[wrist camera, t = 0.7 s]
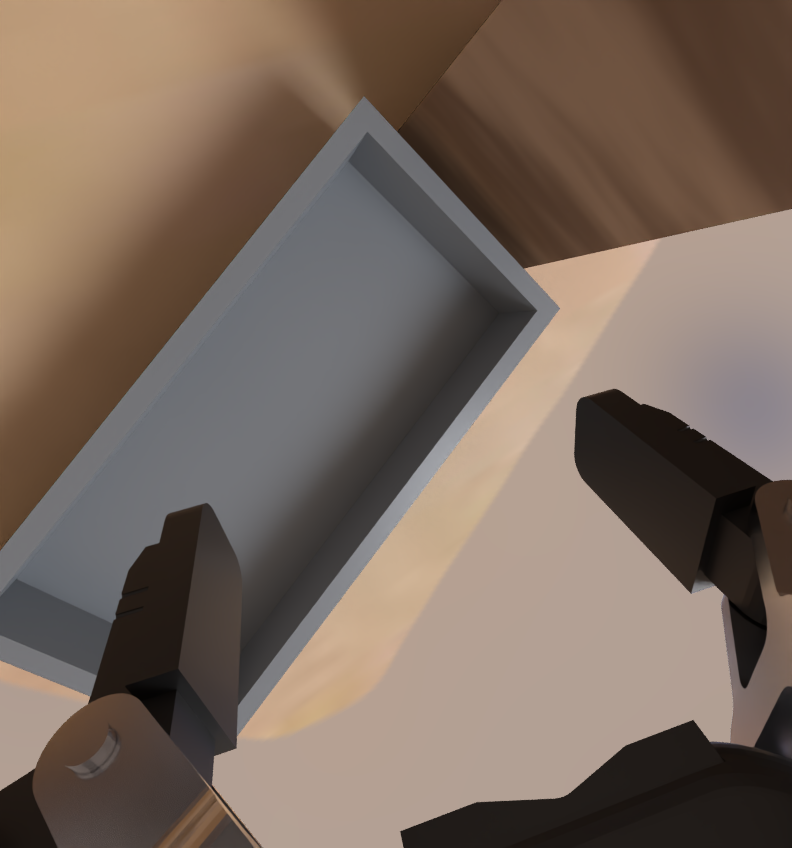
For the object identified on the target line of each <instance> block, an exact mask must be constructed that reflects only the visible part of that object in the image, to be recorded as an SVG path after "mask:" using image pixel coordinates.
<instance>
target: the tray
mask: <svg viewBox="0 0 792 848" xmlns="http://www.w3.org/2000/svg"><path fill="white" fill-rule="evenodd" d="M559 309H560V308H559V307H558V305H557V304H556V303H555V302H554V301H553V300H552V299H551V298H550V297H549V296H548V295H547V294H546V292H545V291H544V290H543V289H542V288H541V287H540V286H539V285H538V284H537V283H536V282H535V281H534V280H533V278H532V277H531V276H530V275H529V274H528V273H527V272H526V271H525V270H524V269H523V268H522V267H521V265H520V264H519V263H518V262H517V261H516V260H515V259H514V258H513V257H512V256H511V255H510V254H509V252H508V251H507V250H506V249H505V248H504V247H503V246H502V245H501V244H500V243H499V242H498V241H497V239H496V238H495V237H494V236H493V235H492V234H491V233H490V232H489V231H488V230H487V229H486V228H485V226H484V225H483V224H482V223H481V222H480V221H479V220H478V219H477V218H476V217H475V216H474V215H473V213H472V212H471V211H470V210H469V209H468V208H467V207H466V206H465V205H464V204H463V203H462V202H461V200H460V199H459V198H458V197H457V196H456V195H455V194H454V193H453V192H452V191H451V190H450V189H449V187H448V186H447V185H446V184H445V183H444V182H443V181H442V180H441V179H440V178H439V177H438V176H437V174H436V173H435V172H434V171H433V170H432V169H431V168H430V167H429V166H428V165H427V164H426V163H425V161H424V160H423V159H422V158H421V157H420V156H419V155H418V154H417V153H416V152H415V151H414V150H413V148H412V147H411V146H410V145H409V144H408V143H407V142H406V141H405V140H404V139H403V138H402V137H401V136H400V134H399V133H398V132H397V131H396V130H395V129H394V128H393V127H392V126H391V125H390V124H389V123H388V121H387V120H386V119H385V118H384V117H383V116H382V115H381V114H380V113H379V112H378V111H377V110H376V108H375V107H374V106H373V105H372V104H371V103H370V102H369V101H368V100H367V99H366V98H365V97H363V98H362V99H361V100H360V102H359V103H358V104H357V105H356V107H355V108H354V109H353V110H352V112H351V113H350V114H349V115H348V117H347V118H346V119H345V120H344V122H343V123H342V124H341V125H340V127H339V128H338V129H337V130H336V132H335V133H334V134H333V135H332V137H331V138H330V139H329V140H328V142H327V143H326V144H325V145H324V147H323V148H322V149H321V150H320V152H319V153H318V154H317V155H316V157H315V158H314V159H313V160H312V162H311V163H310V164H309V165H308V167H307V168H306V169H305V170H304V172H303V173H302V174H301V175H300V177H299V178H298V179H297V180H296V182H295V183H294V184H293V185H292V187H291V188H290V189H289V190H288V192H287V193H286V194H285V195H284V197H283V198H282V199H281V200H280V202H279V203H278V204H277V205H276V207H275V208H274V209H273V210H272V212H271V213H270V214H269V215H268V217H267V218H266V219H265V220H264V222H263V223H262V224H261V225H260V227H259V228H258V229H257V230H256V232H255V233H254V234H253V235H252V237H251V238H250V239H249V240H248V242H247V243H246V244H245V245H244V247H243V248H242V249H241V250H240V252H239V253H238V254H237V255H236V257H235V258H234V259H233V260H232V262H231V263H230V264H229V265H228V267H227V268H226V269H225V270H224V272H223V273H222V274H221V275H220V277H219V278H218V279H217V280H216V282H215V283H214V284H213V285H212V287H211V288H210V289H209V290H208V292H207V293H206V294H205V295H204V297H203V298H202V299H201V301H200V302H199V303H198V304H197V306H196V307H195V308H194V309H193V311H192V312H191V313H190V314H189V316H188V317H187V318H186V319H185V321H184V322H183V323H182V324H181V326H180V327H179V328H178V329H177V331H176V332H175V333H174V334H173V336H172V337H171V338H170V339H169V341H168V342H167V343H166V344H165V346H164V347H163V348H162V349H161V351H160V352H159V353H158V354H157V356H156V357H155V358H154V359H153V361H152V362H151V363H150V364H149V366H148V367H147V368H146V369H145V371H144V372H143V373H142V374H141V376H140V377H139V378H138V379H137V381H136V382H135V383H134V384H133V386H132V387H131V388H130V389H129V391H128V392H127V393H126V394H125V396H124V397H123V398H122V399H121V401H120V402H119V403H118V404H117V406H116V407H115V408H114V409H113V411H112V412H111V413H110V414H109V416H108V417H107V418H106V419H105V421H104V422H103V423H102V424H101V426H100V427H99V428H98V429H97V431H96V432H95V433H94V434H93V436H92V437H91V438H90V439H89V441H88V442H87V443H86V444H85V446H84V447H83V448H82V449H81V451H80V452H79V453H78V454H77V456H76V457H75V458H74V459H73V461H72V462H71V463H70V464H69V466H68V467H67V468H66V469H65V471H64V472H63V473H62V474H61V476H60V477H59V478H58V479H57V481H56V482H55V483H54V484H53V486H52V487H51V488H50V489H49V491H48V492H47V493H46V494H45V496H44V497H43V498H42V499H41V501H40V502H39V503H38V504H37V506H36V507H35V508H34V509H33V511H32V512H31V513H30V514H29V516H28V517H27V518H26V519H25V521H24V522H23V523H22V524H21V526H20V527H19V528H18V529H17V531H16V532H15V533H14V534H13V536H12V537H11V538H10V539H9V541H8V542H7V543H6V544H5V546H4V547H3V548H2V549H1V551H0V660H1V661H3V662H6V663H8V664H11V665H13V666H16V667H18V668H21V669H23V670H26V671H28V672H31V673H33V674H36V675H38V676H41V677H43V678H46V679H48V680H51V681H53V682H56V683H58V684H61V685H63V686H66V687H68V688H71V689H73V690H75V691H78V692H80V693H83V694H85V695H88V696H90V697H91V693H92V690H93V687H94V683H95V680H96V677H97V673H98V670H99V667H100V663H101V660H102V657H103V653H104V650H105V647H106V643H107V640H108V637H109V633H110V630H111V627H112V623H113V620H115V619H116V615H115V613H116V610H117V607H118V603H119V600H120V599H122V595H121V593H122V590H123V587H124V583H125V580H126V577H127V573H128V570H129V569H130V568H131V566H132V565H133V563H134V562H135V561H136V559H137V558H138V557H139V555H140V554H141V552H142V551H143V550H144V548H145V547H147V546H150V545H154V544H157V543H159V542H160V538H161V534H162V529H163V525H164V521H165V518H166V516H167V514H169V513H172V512H176V511H179V510H183V509H186V508H190V507H193V506H197V505H200V504H204V503H208V504H209V505H210V506H211V507H212V508H213V510H214V512H215V514H216V516H217V518H218V520H219V522H220V524H221V526H222V528H223V530H224V532H225V534H226V536H227V538H228V540H229V542H230V544H231V546H232V548H233V550H234V552H235V554H236V556H237V559H238V562H239V566H240V570H241V576H242V604H241V632H240V660H239V689H238V717H237V736H238V734H239V733H240V732H241V730H242V729H243V728H244V726H245V725H246V724H247V722H248V721H249V720H250V718H251V717H252V716H253V715H254V713H255V712H256V711H257V709H258V708H259V707H260V705H261V704H262V703H263V701H264V700H265V699H266V697H267V696H268V695H269V693H270V692H271V691H272V689H273V688H274V687H275V685H276V684H277V683H278V681H279V680H280V679H281V677H282V676H283V675H284V673H285V672H286V671H287V669H288V668H289V667H290V665H291V664H292V663H293V662H294V660H295V659H296V658H297V656H298V655H299V654H300V652H301V651H302V650H303V648H304V647H305V646H306V644H307V643H308V642H309V640H310V639H311V638H312V636H313V635H314V634H315V632H316V631H317V630H318V628H319V627H320V626H321V624H322V623H323V622H324V620H325V619H326V618H327V616H328V615H329V614H330V613H331V611H332V610H333V609H334V607H335V606H336V605H337V603H338V602H339V601H340V599H341V598H342V597H343V595H344V594H345V593H346V591H347V590H348V589H349V587H350V586H351V585H352V583H353V582H354V581H355V579H356V578H357V577H358V575H359V574H360V573H361V571H362V570H363V569H364V567H365V566H366V565H367V563H368V562H369V561H370V560H371V558H372V557H373V556H374V554H375V553H376V552H377V550H378V549H379V548H380V546H381V545H382V544H383V542H384V541H385V540H386V538H387V537H388V536H389V534H390V533H391V532H392V530H393V529H394V528H395V526H396V525H397V524H398V522H399V521H400V520H401V518H402V517H403V516H404V514H405V513H406V512H407V510H408V509H409V508H410V507H411V505H412V504H413V503H414V501H415V500H416V499H417V497H418V496H419V495H420V493H421V492H422V491H423V489H424V488H425V487H426V485H427V484H428V483H429V481H430V480H431V479H432V477H433V476H434V475H435V473H436V472H437V471H438V469H439V468H440V467H441V465H442V464H443V463H444V461H445V460H446V459H447V457H448V456H449V455H450V454H451V452H452V451H453V450H454V448H455V447H456V446H457V444H458V443H459V442H460V440H461V439H462V438H463V436H464V435H465V434H466V432H467V431H468V430H469V428H470V427H471V426H472V424H473V423H474V422H475V420H476V419H477V418H478V416H479V415H480V414H481V412H482V411H483V410H484V408H485V407H486V406H487V404H488V403H489V402H490V401H491V399H492V398H493V397H494V395H495V394H496V393H497V391H498V390H499V389H500V387H501V386H502V385H503V383H504V382H505V381H506V379H507V378H508V377H509V375H510V374H511V373H512V371H513V370H514V369H515V367H516V366H517V365H518V363H519V362H520V361H521V359H522V358H523V357H524V355H525V354H526V353H527V352H528V350H529V349H530V348H531V346H532V345H533V344H534V342H535V341H536V340H537V338H538V337H539V336H540V334H541V333H542V332H543V330H544V329H545V328H546V326H547V325H548V324H549V322H550V321H551V320H552V318H553V317H554V316H555V314H556V313H557V312H558V310H559Z"/></svg>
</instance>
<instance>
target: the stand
mask: <svg viewBox="0 0 792 848" xmlns="http://www.w3.org/2000/svg"><path fill="white" fill-rule="evenodd" d="M398 133H399V134H400V136H401V137H402V138H403V139H404V140H405V141H406V142H407V143H408V144H409V145H410V146H411V147H412V148H413V150H414V151H415V152H416V153H417V154H418V155H419V156H420V157H421V158H422V159H423V160H424V161H425V163H426V164H427V165H428V166H429V167H430V168H431V169H432V170H433V171H434V172H435V173H436V174H437V176H438V177H439V178H440V179H441V180H442V181H443V182H444V183H445V184H446V185H447V186H448V187H449V189H450V190H451V191H452V192H453V193H454V194H455V195H456V196H457V197H458V198H459V199H460V200H461V202H462V203H463V204H464V205H465V206H466V207H467V208H468V209H469V210H470V211H471V212H472V213H473V215H474V216H475V217H476V218H477V219H478V220H479V221H480V222H481V223H482V224H483V225H484V226H485V228H486V229H487V230H488V231H489V232H490V233H491V234H492V235H493V236H494V237H495V238H496V239H497V241H498V242H499V243H500V244H501V245H502V246H503V247H504V248H505V249H506V250H507V251H508V252H509V254H510V255H511V256H512V257H513V258H514V259H515V260H516V261H517V262H518V263H519V264H520V265H521V267H522V268H523V269H524V268H528V267H533V266H537V265H542V264H546V263H550V262H555V261H559V260H564V259H568V258H573V257H577V256H582V255H586V254H591V253H595V252H600V251H604V250H609V249H613V248H618V247H622V246H627V245H631V244H636V243H640V242H645V241H649V240H654V239H658V238H663V237H667V236H672V235H676V234H681V233H685V232H689V231H694V230H699V229H703V228H708V227H712V226H717V225H721V224H726V223H730V222H735V221H739V220H744V219H748V218H753V217H757V216H762V215H766V214H771V213H775V212H780V211H784V210H789V209H792V0H502V1H501V2H500V3H499V4H498V6H497V7H496V8H495V9H494V11H493V12H492V13H491V15H490V16H489V17H488V18H487V20H486V21H485V22H484V23H483V25H482V26H481V27H480V28H479V30H478V31H477V32H476V33H475V35H474V36H473V37H472V39H471V40H470V41H469V42H468V44H467V45H466V46H465V47H464V49H463V50H462V51H461V52H460V54H459V55H458V56H457V57H456V59H455V60H454V61H453V63H452V64H451V65H450V66H449V68H448V69H447V70H446V71H445V73H444V74H443V75H442V76H441V78H440V79H439V80H438V81H437V83H436V84H435V85H434V86H433V88H432V89H431V90H430V92H429V93H428V94H427V95H426V97H425V98H424V99H423V100H422V102H421V103H420V104H419V105H418V107H417V108H416V109H415V110H414V112H413V113H412V114H411V116H410V117H409V118H408V119H407V121H406V122H405V123H404V124H403V126H402V127H401V128H400V129H399V131H398Z"/></svg>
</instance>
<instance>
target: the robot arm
mask: <svg viewBox="0 0 792 848" xmlns="http://www.w3.org/2000/svg"><path fill="white" fill-rule="evenodd" d="M574 455H575V456H574V457H575V463H576V466H577V469H578V471H579V474H580V475H581V477H582V479H583V480H584V481H585V482H586V483H587V485H588V486H589V487H590V488H591V489H592V490H593V491H594V492H595V493H596V494H597V495H598V496H599V497H600V498H601V499H602V500H603V501H604V503H606V505H607V506H608V507H609V508H610V509H611V510H612V511H613V512H614V513H615V514H616V515H617V516H618V517H619V518H620V519H621V520H622V521H623V522H624V524H625V525H626V526H627V527H628V528H629V529H630V530H631V531H632V532H633V533H634V534H635V535H636V536H637V537H638V538H639V539H640V540H641V541H642V542H643V543H644V544H645V545H646V547H647V548H648V549H649V550H650V551H651V552H652V553H653V554H654V555H655V556H656V557H657V558H658V559H659V560H660V561H661V562H662V563H663V565H665V567H666V568H667V569H668V570H669V571H670V572H671V573H672V574H673V575H674V576H675V577H676V578H677V579H678V580H679V581H680V582H681V583H682V584H683V586H684V587H685V588H686V589H687V590H688V591H689V592H690V593H691V594H692V593H695V592H698V591H700V590H704V589H706V588H710V587H712V586H717V588H718V589H719V590H720V591H721V592H723V594H724V596H723V599H722V603H721V609H722V616H723V624H724V632H725V640H726V647H727V655H728V663H729V670H730V679H731V685H732V695H733V717H732V724H731V736H730V743H724V742H709V740H708V739H707V738H706V736H705V735H704V734H703V732H702V731H701V730H700V728H699V727H698V726H697V724H696V723H695V722H694V721H693V720H692V721H689V722H687V723H684V724H681V725H679V726H676V727H674V728H671V729H668V730H666V731H663V732H661V733H658V734H655V735H652V736H650V737H647V738H645V739H642V740H639V741H637V742H634V743H631V744H629V745H626V746H625V747H623V748H622V749H621V750H620V751H619V752H618V753H616V754H615V755H614V756H613V757H612V758H611V759H609V760H608V761H607V762H606V763H605V764H604V765H603V766H601V767H600V768H599V769H598V770H596V771H595V772H594V773H593V774H592V775H591V776H589V777H588V778H587V779H586V780H585V781H584V782H583V783H581V784H580V785H579V786H578V787H577V788H576V789H574V790H573V791H572V792H571V793H569V794H568V795H566V796H564V797H561V798H556V799H538V800H517V801H495V802H476V803H474V804H471V805H468V806H466V807H463V808H460V809H458V810H455V811H453V812H450V813H447V814H445V815H442V816H440V817H437V818H434V819H432V820H429V821H426V822H424V823H421V824H418V825H416V826H413V827H411V828H408V829H405V830H403V831H401V837H402V842H403V847H404V848H792V480H780V481H774V482H773V481H771V480H770V479H768V478H767V477H765V476H764V475H762V474H761V473H759V472H758V471H756V470H755V469H753V468H752V467H750V466H749V465H747V464H746V463H744V462H743V461H741V460H740V459H738V458H737V457H735V456H734V455H732V454H731V453H729V452H728V451H726V450H725V449H723V448H722V447H720V446H719V445H717V444H716V443H714V442H713V441H711V440H709V441H708V440H707V439H706V437H705V436H704V435H702V434H701V433H699V432H698V431H696V430H694V429H690V427H689V425H687V424H686V423H684V422H683V421H681V420H680V419H678V418H677V417H675V416H674V415H672V414H671V413H669V412H666V411H663V410H660V409H657V408H655V407H652V406H649V405H646V404H642V405H640V404H638V403H637V402H636V401H634V400H633V399H631V398H630V397H629V396H627V395H626V394H624V393H623V392H621V391H619V390H617V389H612V390H607V391H604V392H601V393H597V394H593V395H590V396H587V397H583V398H581V399H580V400H579V401H578V403H577V409H576V428H575V452H574ZM121 595H122V599H120V600H119V603H118V607H117V610H116V613H115V615H116V619H115V620H113V623H112V627H111V630H110V633H109V637H108V640H107V643H106V647H105V650H104V653H103V657H102V660H101V663H100V667H99V670H98V673H97V677H96V680H95V683H94V687H93V690H92V693H91V697H90V700H89V703H88V705H86V706H84V707H83V708H81V709H80V710H79V711H77V712H76V713H75V714H74V715H72V716H71V717H70V718H69V719H68V720H67V721H66V722H65V723H64V724H63V725H62V726H61V727H60V728H59V729H58V730H57V732H56V733H55V734H54V735H53V737H52V738H51V739H50V741H49V742H48V744H47V745H46V747H45V749H44V750H43V752H42V754H41V756H40V758H39V760H38V762H37V765H36V768H35V769H33V770H32V771H31V772H29V773H28V774H26V775H24V776H23V777H21V778H20V779H18V780H17V781H15V782H13V783H12V784H10V785H9V786H7V787H6V788H4V789H2V790H1V791H0V848H263V847H262V846H261V844H260V843H259V842H258V841H257V839H256V838H255V837H254V836H253V834H252V833H251V832H250V831H249V830H248V828H247V827H246V826H245V824H244V823H243V822H242V821H241V819H240V818H239V817H238V816H237V815H236V813H235V812H234V811H233V810H232V808H231V807H230V806H229V805H228V803H227V802H226V801H225V800H224V798H223V797H222V796H221V795H220V793H219V792H218V791H217V790H216V789H215V787H214V786H213V785H212V776H213V763H214V756H215V755H219V754H221V753H224V752H227V751H230V750H233V749H236V744H237V717H238V689H239V660H240V632H241V604H242V576H241V570H240V566H239V562H238V559H237V556H236V554H235V552H234V550H233V548H232V546H231V544H230V542H229V540H228V538H227V536H226V534H225V532H224V530H223V528H222V526H221V524H220V522H219V520H218V518H217V516H216V514H215V512H214V510H213V508H212V507H211V506H210V505H209V504H208V503H204V504H200V505H197V506H193V507H190V508H186V509H183V510H179V511H176V512H172V513H169V514H167V516H166V518H165V521H164V525H163V529H162V534H161V538H160V542H159V543H157V544H154V545H150V546H147V547H145V548H144V550H143V551H142V552H141V554H140V555H139V557H138V558H137V559H136V561H135V562H134V563H133V565H132V566H131V568H130V569H129V570H128V573H127V577H126V580H125V583H124V587H123V590H122V593H121Z"/></svg>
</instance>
